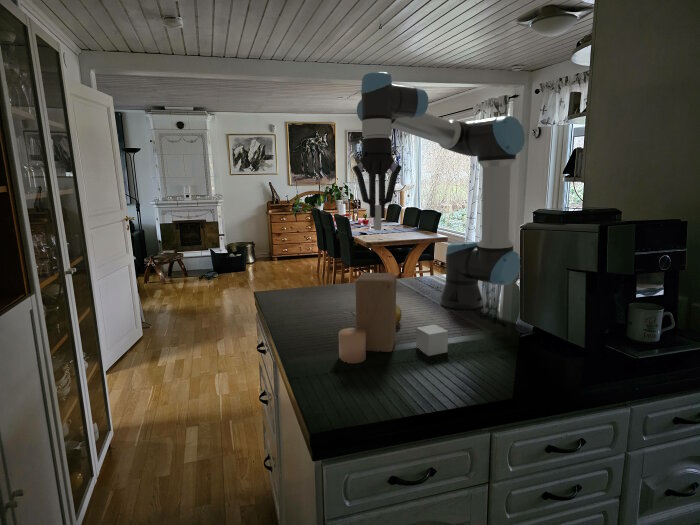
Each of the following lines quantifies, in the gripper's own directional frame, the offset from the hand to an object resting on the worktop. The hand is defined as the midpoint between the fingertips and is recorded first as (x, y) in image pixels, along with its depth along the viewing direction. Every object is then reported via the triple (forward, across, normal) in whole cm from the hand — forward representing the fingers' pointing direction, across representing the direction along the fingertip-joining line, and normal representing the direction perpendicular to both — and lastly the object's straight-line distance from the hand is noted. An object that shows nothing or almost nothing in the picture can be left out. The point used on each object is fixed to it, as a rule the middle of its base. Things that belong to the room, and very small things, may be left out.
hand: (377, 229), depth 115 cm
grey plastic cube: (+33, -14, +6) cm, 36 cm away
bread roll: (+33, -7, -18) cm, 38 cm away
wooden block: (+33, 0, 0) cm, 33 cm away
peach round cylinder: (+33, +8, +7) cm, 34 cm away
